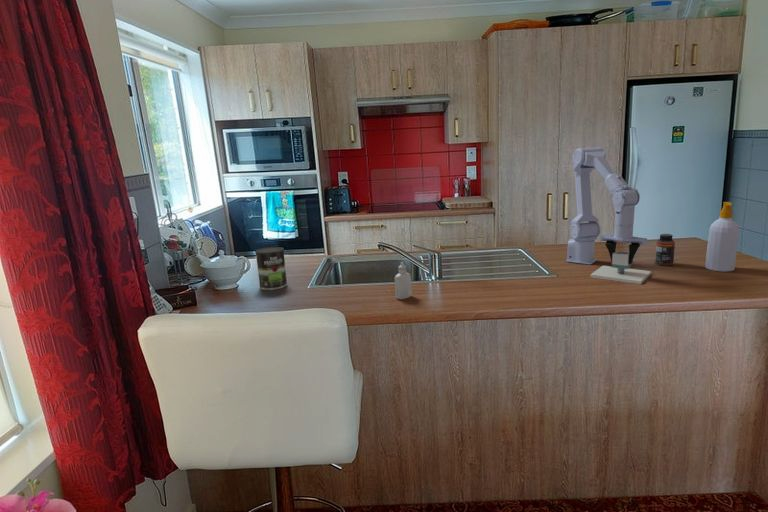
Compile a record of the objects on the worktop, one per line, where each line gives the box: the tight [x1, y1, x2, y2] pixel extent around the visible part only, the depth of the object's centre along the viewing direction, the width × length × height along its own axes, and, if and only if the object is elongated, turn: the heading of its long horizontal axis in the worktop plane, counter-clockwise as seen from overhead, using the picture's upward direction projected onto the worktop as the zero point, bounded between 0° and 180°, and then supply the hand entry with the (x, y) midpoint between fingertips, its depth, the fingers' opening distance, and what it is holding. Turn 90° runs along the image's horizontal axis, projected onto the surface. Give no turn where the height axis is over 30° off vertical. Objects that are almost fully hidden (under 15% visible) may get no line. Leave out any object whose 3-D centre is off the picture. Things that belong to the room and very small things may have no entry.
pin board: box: [590, 265, 652, 285], centre depth 164 cm, size 16×14×4 cm
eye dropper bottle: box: [394, 261, 412, 300], centre depth 153 cm, size 4×6×12 cm
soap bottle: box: [704, 201, 740, 273], centre depth 163 cm, size 9×9×24 cm
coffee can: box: [255, 246, 288, 291], centre depth 174 cm, size 10×10×14 cm
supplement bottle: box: [654, 233, 676, 267], centre depth 174 cm, size 6×6×11 cm
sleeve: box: [611, 250, 632, 269], centre depth 163 cm, size 5×5×5 cm
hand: (621, 262), depth 163 cm, fingers closed on sleeve, 5 cm apart
